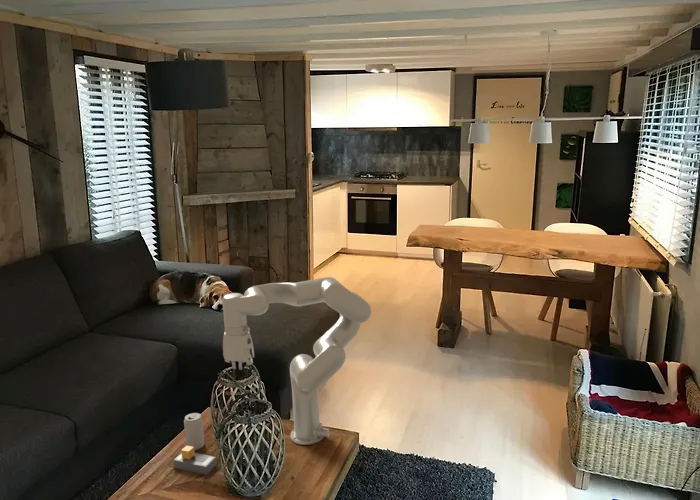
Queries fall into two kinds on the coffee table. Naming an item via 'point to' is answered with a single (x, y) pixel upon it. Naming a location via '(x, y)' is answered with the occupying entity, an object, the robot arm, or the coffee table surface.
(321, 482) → the coffee table surface
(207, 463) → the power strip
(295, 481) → the coffee table surface
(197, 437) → the beverage can
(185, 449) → the orange cube
